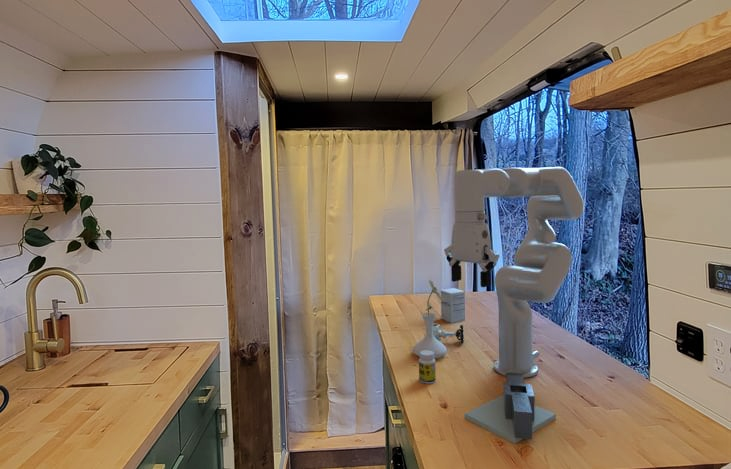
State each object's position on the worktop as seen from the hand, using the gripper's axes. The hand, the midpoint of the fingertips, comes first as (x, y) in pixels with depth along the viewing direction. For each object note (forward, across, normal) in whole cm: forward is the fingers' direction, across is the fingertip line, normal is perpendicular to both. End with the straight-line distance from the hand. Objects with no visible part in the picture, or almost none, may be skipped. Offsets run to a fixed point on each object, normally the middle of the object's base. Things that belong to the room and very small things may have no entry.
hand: (470, 283), depth 116 cm
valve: (+31, +32, -24) cm, 50 cm away
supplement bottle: (+31, +14, +3) cm, 34 cm away
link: (+29, -16, +3) cm, 33 cm away
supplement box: (+31, +49, -46) cm, 74 cm away
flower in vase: (+31, +28, -12) cm, 43 cm away
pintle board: (+30, -14, +1) cm, 33 cm away
